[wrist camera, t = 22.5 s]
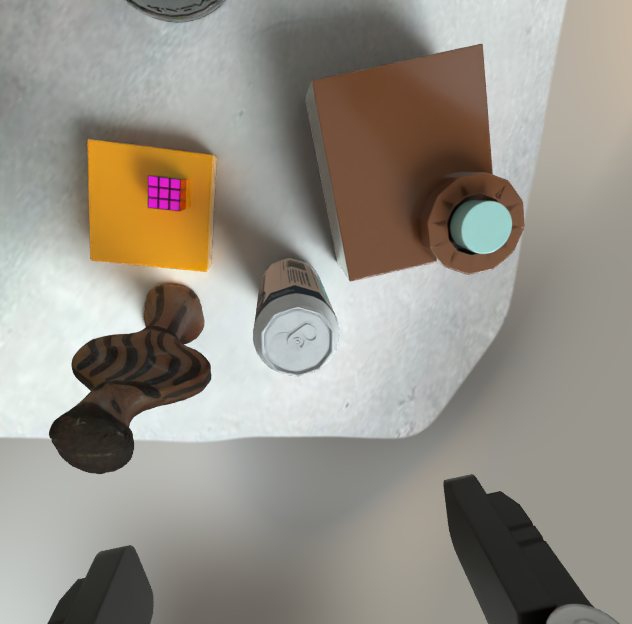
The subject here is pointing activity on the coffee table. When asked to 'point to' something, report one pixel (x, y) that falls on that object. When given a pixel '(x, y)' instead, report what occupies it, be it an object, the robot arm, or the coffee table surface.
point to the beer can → (294, 319)
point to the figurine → (132, 380)
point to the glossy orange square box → (150, 205)
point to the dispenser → (407, 162)
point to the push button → (481, 225)
